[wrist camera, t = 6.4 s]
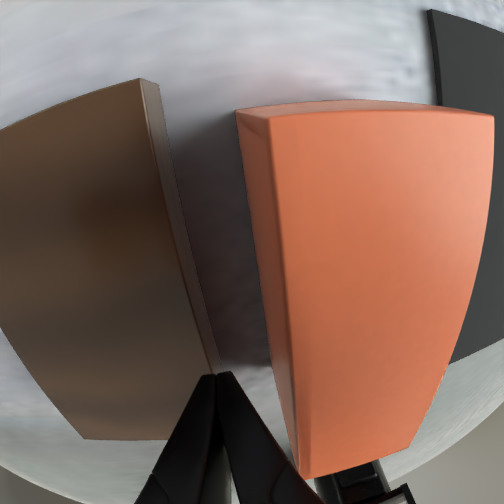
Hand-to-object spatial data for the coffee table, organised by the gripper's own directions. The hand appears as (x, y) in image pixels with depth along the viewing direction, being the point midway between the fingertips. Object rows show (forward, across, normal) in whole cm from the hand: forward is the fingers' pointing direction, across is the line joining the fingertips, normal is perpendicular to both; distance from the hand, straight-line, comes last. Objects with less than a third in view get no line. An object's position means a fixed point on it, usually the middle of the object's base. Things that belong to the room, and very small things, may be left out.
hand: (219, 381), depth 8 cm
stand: (+6, +5, 0) cm, 8 cm away
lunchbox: (+2, -2, 0) cm, 3 cm away
